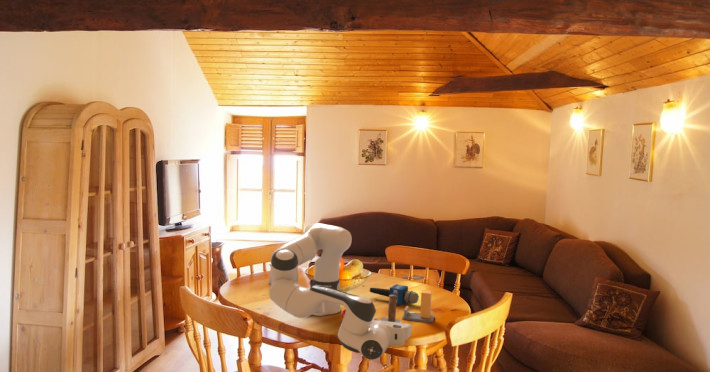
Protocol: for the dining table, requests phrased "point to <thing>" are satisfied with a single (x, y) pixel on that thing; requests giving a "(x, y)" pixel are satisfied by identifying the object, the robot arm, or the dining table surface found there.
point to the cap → (343, 313)
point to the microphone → (398, 294)
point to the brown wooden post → (392, 308)
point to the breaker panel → (416, 316)
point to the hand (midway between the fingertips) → (387, 321)
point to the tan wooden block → (425, 304)
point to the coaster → (387, 319)
